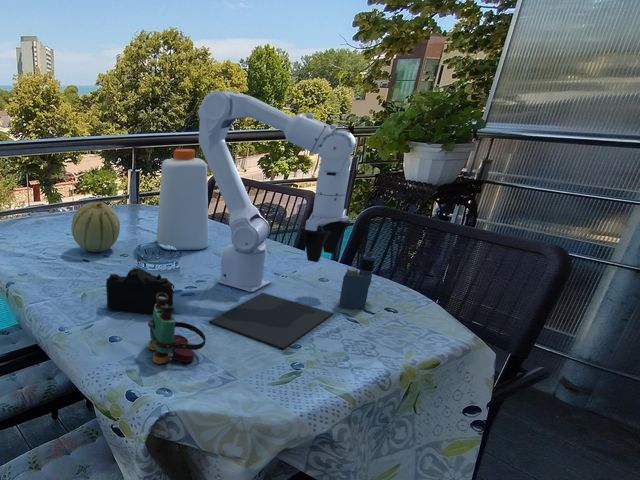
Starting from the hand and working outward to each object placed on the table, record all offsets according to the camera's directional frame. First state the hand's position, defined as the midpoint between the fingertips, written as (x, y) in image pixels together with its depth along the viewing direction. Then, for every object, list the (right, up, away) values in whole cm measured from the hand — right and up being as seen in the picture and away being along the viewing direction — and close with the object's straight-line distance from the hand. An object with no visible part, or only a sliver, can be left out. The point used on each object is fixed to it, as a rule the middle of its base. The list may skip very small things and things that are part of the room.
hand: (321, 256), depth 100 cm
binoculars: (-34, -19, -17) cm, 42 cm away
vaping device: (+6, -11, -2) cm, 12 cm away
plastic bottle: (-23, +8, +44) cm, 50 cm away
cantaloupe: (-50, +5, +41) cm, 64 cm away
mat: (-13, -13, -6) cm, 19 cm away
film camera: (-39, -11, +2) cm, 40 cm away
